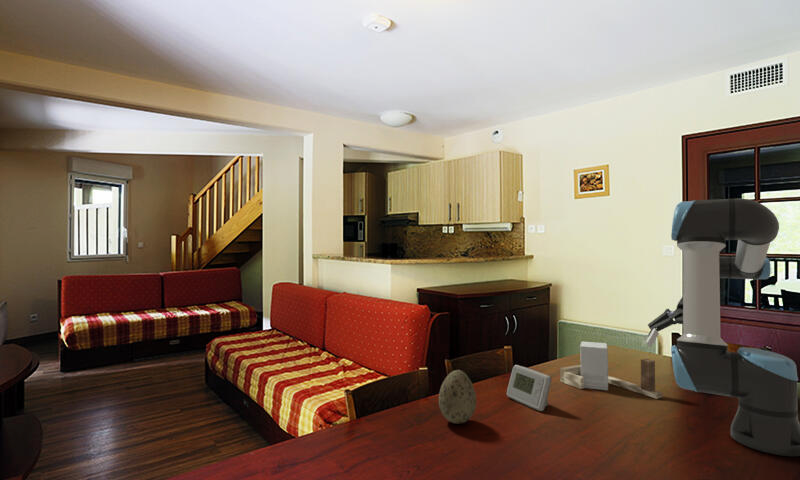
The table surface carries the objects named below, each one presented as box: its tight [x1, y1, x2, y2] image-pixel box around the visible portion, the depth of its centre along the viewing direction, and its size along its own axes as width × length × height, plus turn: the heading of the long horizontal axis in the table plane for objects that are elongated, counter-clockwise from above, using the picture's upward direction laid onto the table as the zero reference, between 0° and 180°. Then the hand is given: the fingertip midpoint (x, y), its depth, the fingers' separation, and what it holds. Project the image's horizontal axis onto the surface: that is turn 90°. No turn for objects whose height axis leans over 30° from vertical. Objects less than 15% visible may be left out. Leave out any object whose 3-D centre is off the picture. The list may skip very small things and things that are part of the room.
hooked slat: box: [559, 358, 663, 400], centre depth 153 cm, size 28×18×12 cm, turn 26°
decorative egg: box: [438, 369, 477, 425], centre depth 125 cm, size 11×11×15 cm
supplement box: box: [579, 341, 609, 391], centre depth 157 cm, size 9×9×15 cm
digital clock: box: [506, 364, 552, 412], centre depth 140 cm, size 16×9×11 cm, turn 17°
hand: (666, 348), depth 152 cm, fingers open, 13 cm apart
